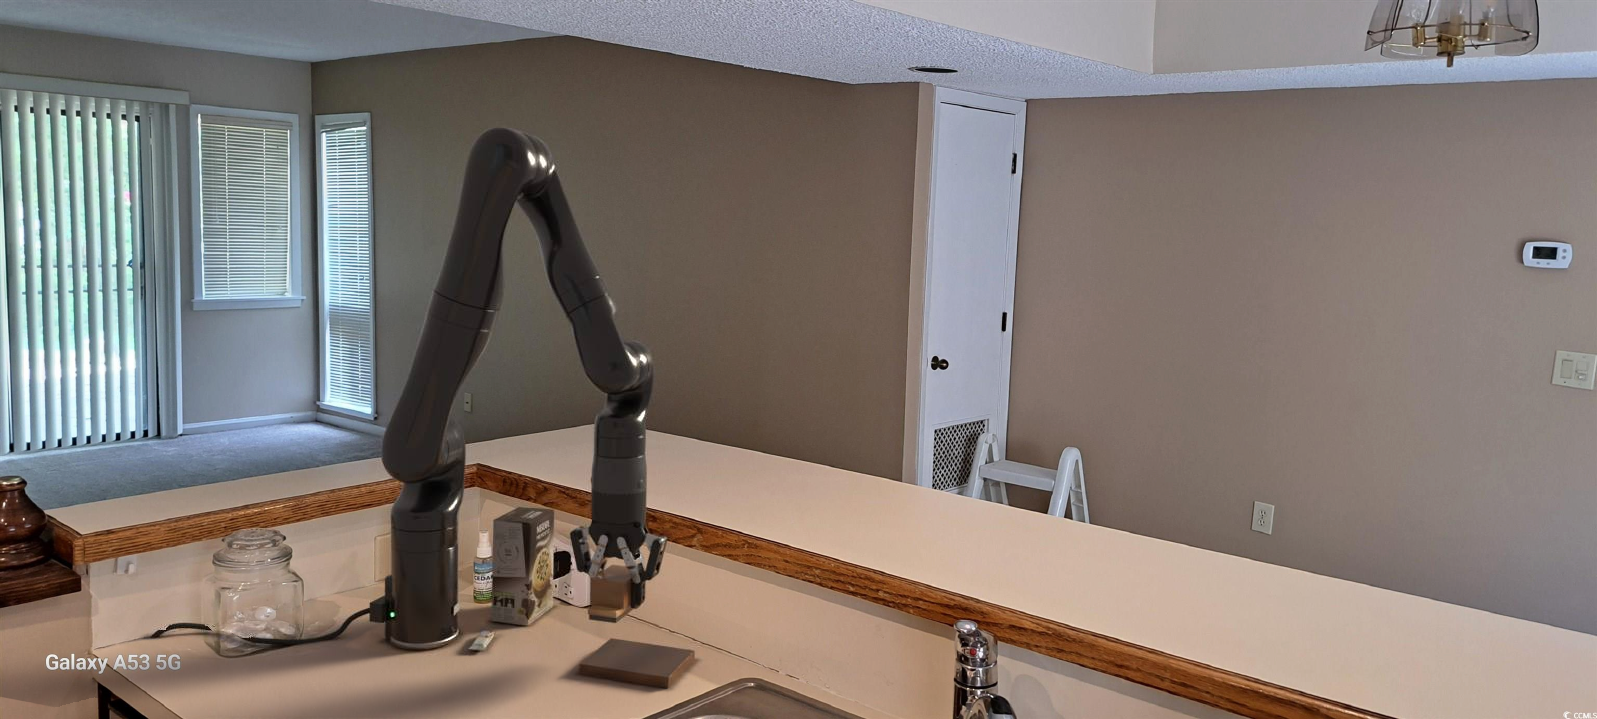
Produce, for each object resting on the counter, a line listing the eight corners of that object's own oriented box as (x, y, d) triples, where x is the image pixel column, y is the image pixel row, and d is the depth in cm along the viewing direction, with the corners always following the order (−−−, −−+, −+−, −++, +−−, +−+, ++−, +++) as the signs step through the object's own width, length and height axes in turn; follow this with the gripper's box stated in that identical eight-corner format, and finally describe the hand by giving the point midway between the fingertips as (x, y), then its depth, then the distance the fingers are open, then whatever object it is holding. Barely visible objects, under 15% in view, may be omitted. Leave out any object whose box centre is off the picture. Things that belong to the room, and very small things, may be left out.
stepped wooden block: (616, 596, 154) (616, 561, 153) (648, 600, 153) (648, 565, 152) (584, 619, 144) (585, 582, 144) (618, 624, 143) (619, 586, 143)
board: (579, 673, 145) (579, 663, 145) (610, 647, 155) (611, 637, 155) (668, 688, 142) (668, 677, 142) (694, 660, 152) (695, 650, 152)
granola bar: (484, 653, 151) (484, 646, 151) (468, 652, 151) (468, 645, 151) (497, 635, 158) (497, 628, 157) (481, 634, 158) (481, 627, 157)
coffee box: (529, 626, 162) (530, 523, 160) (490, 621, 163) (491, 519, 161) (554, 606, 171) (556, 508, 169) (517, 602, 172) (518, 504, 170)
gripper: (678, 484, 148) (675, 602, 150) (583, 474, 152) (582, 590, 154) (657, 496, 141) (654, 620, 143) (558, 486, 145) (557, 607, 147)
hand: (617, 603), depth 149 cm, fingers closed on stepped wooden block, 5 cm apart
